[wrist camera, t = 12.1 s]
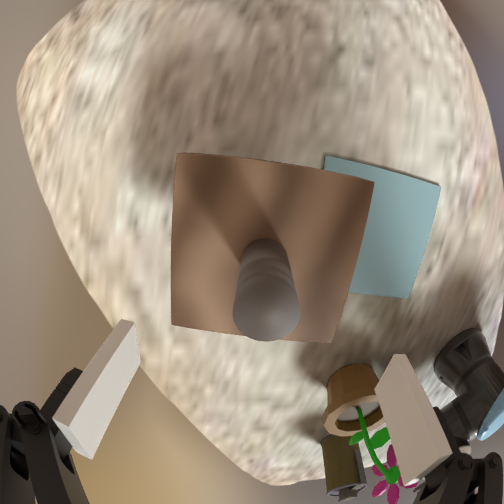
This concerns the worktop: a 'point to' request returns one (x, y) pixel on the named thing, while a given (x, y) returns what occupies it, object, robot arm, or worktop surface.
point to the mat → (391, 229)
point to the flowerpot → (362, 421)
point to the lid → (264, 246)
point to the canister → (343, 467)
